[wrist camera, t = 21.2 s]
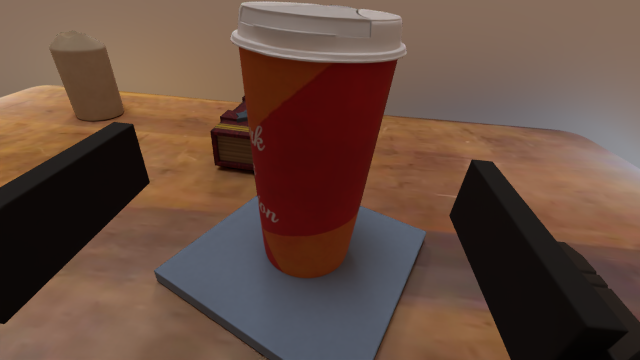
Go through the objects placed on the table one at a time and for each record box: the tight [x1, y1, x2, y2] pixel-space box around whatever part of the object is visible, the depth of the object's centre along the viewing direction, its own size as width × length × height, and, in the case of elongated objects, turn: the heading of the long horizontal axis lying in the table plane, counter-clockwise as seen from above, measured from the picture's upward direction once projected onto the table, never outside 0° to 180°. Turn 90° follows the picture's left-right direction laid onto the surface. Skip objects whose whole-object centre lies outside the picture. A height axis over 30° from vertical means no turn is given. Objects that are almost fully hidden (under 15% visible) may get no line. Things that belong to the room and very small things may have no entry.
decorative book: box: [210, 96, 254, 170], centre depth 36 cm, size 11×16×5 cm
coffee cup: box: [230, 2, 407, 278], centre depth 18 cm, size 8×8×15 cm
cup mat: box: [154, 196, 426, 360], centre depth 22 cm, size 14×14×1 cm
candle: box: [49, 31, 124, 121], centre depth 38 cm, size 6×6×10 cm
